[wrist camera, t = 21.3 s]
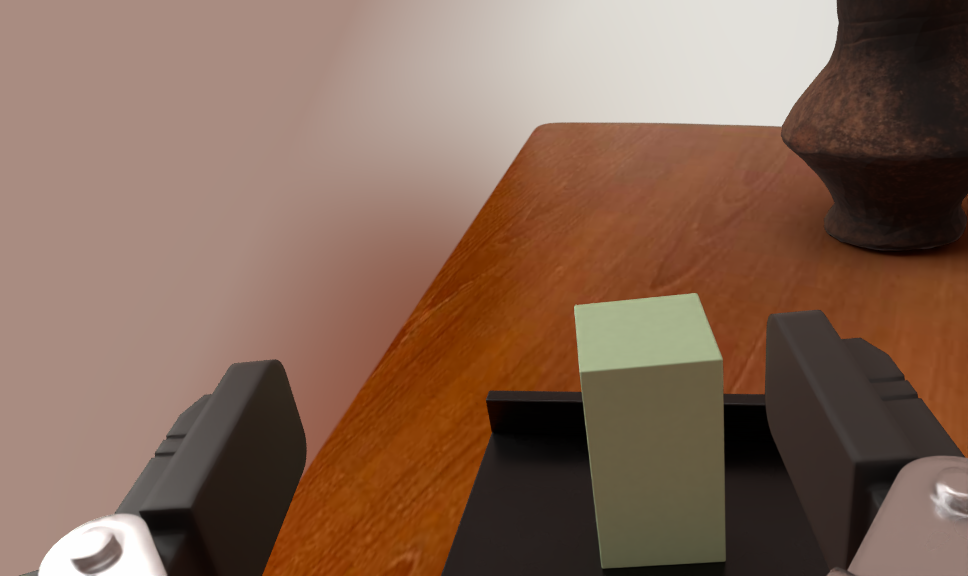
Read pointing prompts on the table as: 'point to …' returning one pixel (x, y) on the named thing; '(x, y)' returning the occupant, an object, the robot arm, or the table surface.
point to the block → (654, 430)
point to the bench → (571, 510)
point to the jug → (890, 124)
